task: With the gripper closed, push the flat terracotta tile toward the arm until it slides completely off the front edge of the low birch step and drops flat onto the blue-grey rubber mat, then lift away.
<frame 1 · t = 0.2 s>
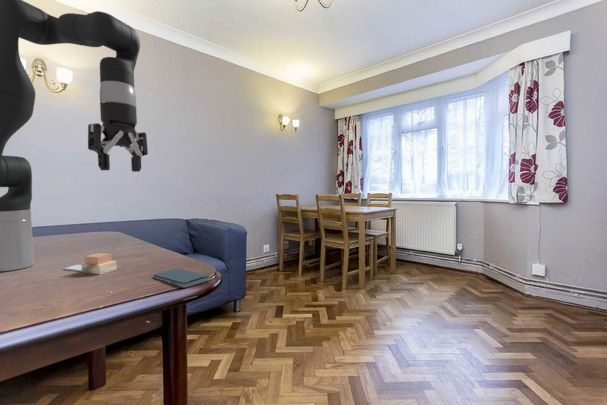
hand: (121, 170, 73), 28 cm above the table, fingers open, 8 cm apart
deck: (99, 270, 84), on the table
mat: (80, 268, 86), on the table
smartphone: (181, 281, 76), on the table
tile: (98, 262, 84), point 2 cm above the table, touching deck
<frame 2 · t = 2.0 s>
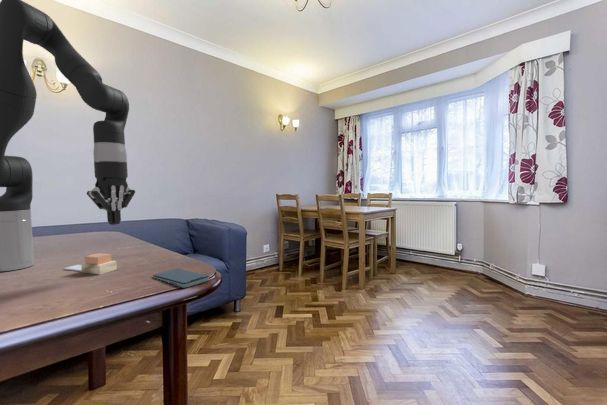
hand: (114, 224, 81), 14 cm above the table, fingers closed
nothing on the table moved.
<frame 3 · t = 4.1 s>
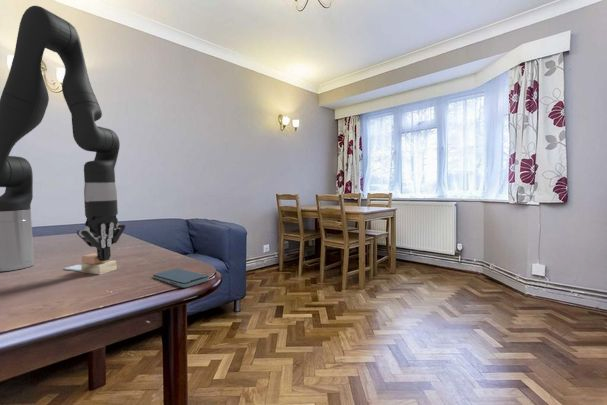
hand: (104, 260, 83), 3 cm above the table, fingers closed
tile: (95, 261, 84), point 3 cm above the table
everything else where it was.
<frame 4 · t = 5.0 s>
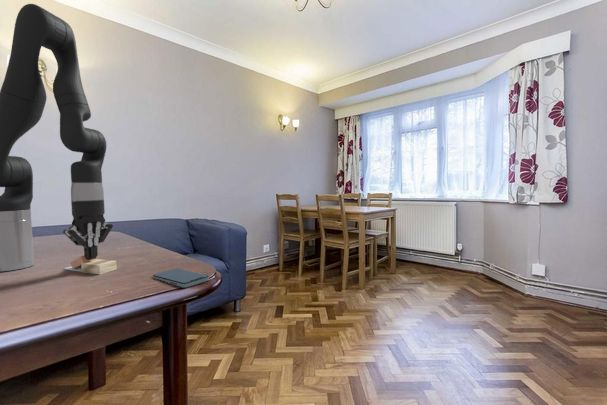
hand: (91, 258, 84), 3 cm above the table, fingers closed
tile: (85, 264, 85), point 1 cm above the table, tilted 25°, touching gripper
everything else where it was.
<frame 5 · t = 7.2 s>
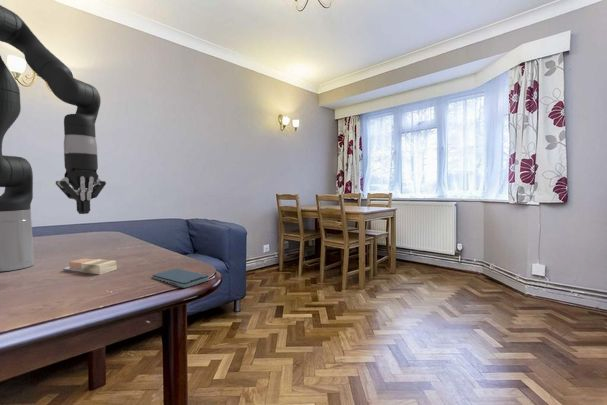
hand: (83, 213, 84), 16 cm above the table, fingers closed
tile: (83, 267, 86), resting on mat
everything else where it was.
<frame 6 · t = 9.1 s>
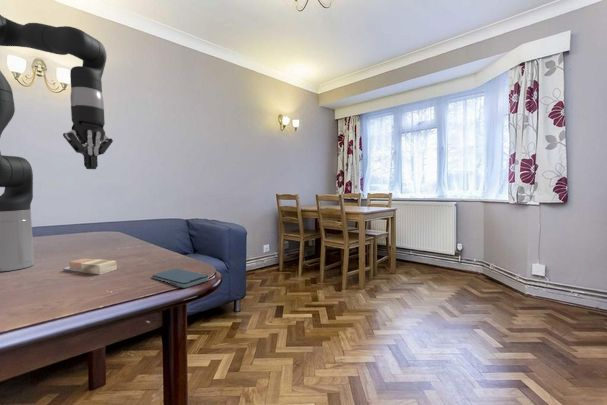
hand: (91, 169, 84), 29 cm above the table, fingers closed
nothing on the table moved.
at the end: tile inside the target area (1.5 cm from its centre), resting on mat; tile touching mat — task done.
